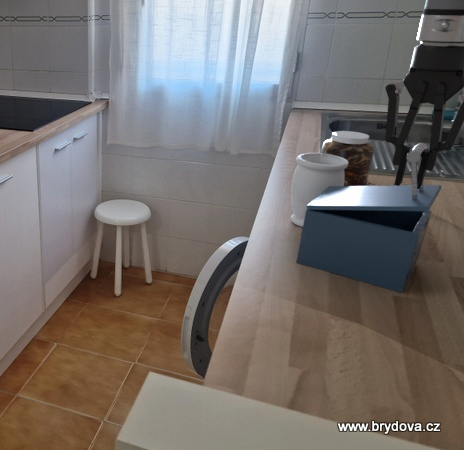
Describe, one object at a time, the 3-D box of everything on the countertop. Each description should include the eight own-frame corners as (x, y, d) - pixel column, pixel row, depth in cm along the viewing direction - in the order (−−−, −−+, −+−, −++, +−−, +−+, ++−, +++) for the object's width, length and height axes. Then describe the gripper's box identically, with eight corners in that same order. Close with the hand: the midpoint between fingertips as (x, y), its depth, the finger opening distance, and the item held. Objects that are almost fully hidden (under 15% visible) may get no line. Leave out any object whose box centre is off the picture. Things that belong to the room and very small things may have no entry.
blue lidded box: (416, 264, 104) (431, 211, 99) (401, 292, 94) (418, 235, 90) (318, 239, 114) (328, 190, 110) (296, 262, 105) (306, 209, 100)
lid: (441, 189, 97) (441, 137, 95) (428, 211, 88) (427, 155, 85) (328, 190, 110) (326, 144, 108) (306, 209, 100) (303, 160, 98)
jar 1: (331, 235, 116) (345, 168, 110) (281, 225, 121) (292, 161, 115) (337, 219, 124) (351, 156, 118) (290, 210, 129) (301, 149, 123)
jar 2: (330, 180, 150) (341, 127, 144) (372, 192, 141) (386, 136, 135) (305, 188, 143) (315, 133, 138) (347, 201, 135) (360, 142, 129)
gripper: (383, 43, 87) (354, 182, 96) (502, 47, 78) (457, 200, 87) (393, 40, 92) (364, 172, 102) (506, 44, 83) (463, 188, 93)
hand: (407, 185), depth 94 cm, fingers open, 2 cm apart
